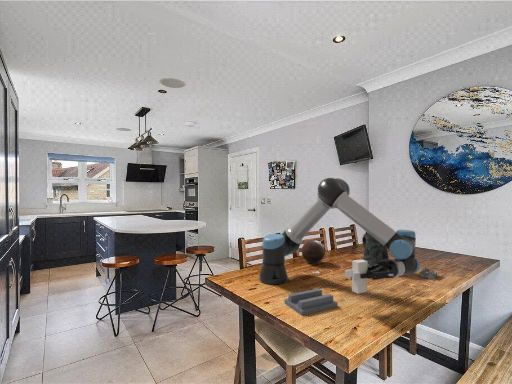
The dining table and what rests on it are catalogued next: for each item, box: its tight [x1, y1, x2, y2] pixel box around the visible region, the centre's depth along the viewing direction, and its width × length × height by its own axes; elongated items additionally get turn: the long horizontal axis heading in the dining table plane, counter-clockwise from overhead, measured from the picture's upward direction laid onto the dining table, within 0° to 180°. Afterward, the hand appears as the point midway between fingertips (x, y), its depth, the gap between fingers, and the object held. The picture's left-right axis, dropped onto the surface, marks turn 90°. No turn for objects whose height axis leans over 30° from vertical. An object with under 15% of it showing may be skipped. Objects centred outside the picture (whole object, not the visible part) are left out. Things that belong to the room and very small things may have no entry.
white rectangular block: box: [351, 259, 368, 294], centre depth 105 cm, size 3×5×12 cm, turn 116°
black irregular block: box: [361, 231, 390, 265], centre depth 161 cm, size 16×19×25 cm
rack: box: [283, 288, 339, 316], centre depth 110 cm, size 12×18×4 cm, turn 116°
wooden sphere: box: [301, 239, 326, 264], centre depth 175 cm, size 15×15×15 cm
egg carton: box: [418, 266, 439, 280], centre depth 148 cm, size 10×7×4 cm
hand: (349, 275), depth 103 cm, fingers closed on white rectangular block, 3 cm apart
